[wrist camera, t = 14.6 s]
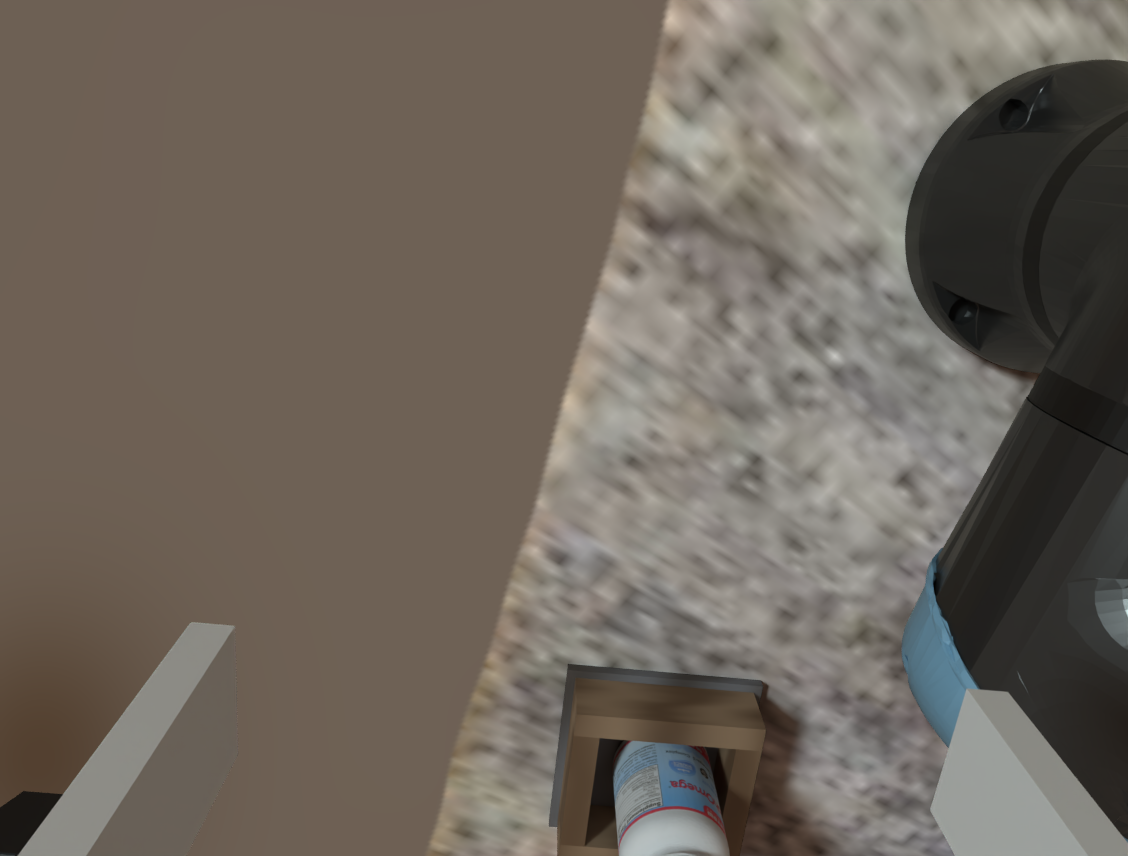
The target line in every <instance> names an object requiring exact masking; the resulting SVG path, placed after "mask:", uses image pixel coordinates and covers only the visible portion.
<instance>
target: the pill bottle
mask: <svg viewBox="0 0 1128 856" xmlns="http://www.w3.org/2000/svg"><path fill="white" fill-rule="evenodd" d="M613 784H614V798H615V811H616V825H617V838H618V852H619V856H730V853H729V847H728V842H727V837H726V833H725V828H724V824H723V819H722V815H721V810H720V806H719V801H718V797H717V792H716V788H715V783H714V779H713V774H712V770H711V765H710V761H709V757H708V754H707V751H706V749H705V747H703V746H690V745H678V744H666V743H654V742H642V741H629V740H624V741H623V742H622V743H621V745H620V746H619V747H618V749H617V751H616V753H615V755H614V759H613Z"/></svg>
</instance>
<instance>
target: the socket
mask: <svg viewBox="0 0 1128 856" xmlns="http://www.w3.org/2000/svg"><path fill="white" fill-rule="evenodd" d="M762 689H763V685H762V682H761V681H759V680H748V679H736V678H724V677H712V676H701V675H689V674H677V673H665V672H653V671H642V670H630V669H618V668H606V667H595V666H583V665H571V664H568V669H567V678H566V686H565V694H564V702H563V710H562V718H561V727H560V735H559V743H558V751H557V759H556V768H555V776H554V784H553V792H552V800H551V808H550V817H549V827H557V856H619V852H618V838H617V825H616V811H615V798H614V784H613V759H614V755H615V753H616V751H617V749H618V747H619V746H620V745H621V743H622V742H623V741H624V740H629V741H642V742H654V743H666V744H678V745H690V746H703V747H705V749H706V751H707V754H708V757H709V761H710V765H711V770H712V774H713V779H714V783H715V788H716V792H717V797H718V801H719V806H720V810H721V815H722V819H723V824H724V828H725V833H726V837H727V842H728V847H729V853H730V856H739V855H740V850H741V846H742V841H743V837H744V832H745V827H746V823H747V818H748V813H749V809H750V804H751V799H752V795H753V790H754V785H755V781H756V776H757V771H758V767H759V762H760V757H761V753H762V748H763V744H764V739H765V734H766V727H765V724H764V722H763V719H762V716H761V713H760V710H759V703H760V699H761V694H762Z"/></svg>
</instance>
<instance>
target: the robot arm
mask: <svg viewBox="0 0 1128 856" xmlns="http://www.w3.org/2000/svg"><path fill="white" fill-rule="evenodd" d="M905 247H906V259H907V265H908V270H909V274H910V278H911V282H912V284H913V287H914V290H915V292H916V295H917V297H918V299H919V301H920V303H921V305H922V306H923V308H924V310H925V311H926V313H927V314H928V316H929V317H930V318H931V319H932V321H933V322H934V323H935V324H936V325H937V326H938V328H939V329H940V330H941V331H942V332H943V333H945V334H946V335H947V336H948V337H949V338H951V339H952V340H953V341H955V342H956V343H957V344H959V345H961V346H962V347H964V348H966V349H967V350H969V351H971V352H973V353H975V354H977V355H979V356H980V357H982V358H984V359H986V360H988V361H991V362H993V363H996V364H998V365H1001V366H1004V367H1007V368H1011V369H1016V370H1020V371H1025V372H1033V373H1040V375H1039V377H1038V379H1037V381H1036V383H1035V384H1034V386H1033V388H1032V390H1031V392H1030V394H1029V395H1028V397H1026V399H1025V401H1024V403H1023V404H1022V406H1021V408H1020V410H1019V412H1018V414H1017V415H1016V417H1015V419H1014V421H1013V423H1012V425H1011V427H1010V428H1009V430H1008V432H1007V434H1006V436H1005V438H1004V439H1003V441H1002V443H1001V445H1000V447H999V449H998V451H997V452H996V454H995V456H994V458H993V460H992V462H991V463H990V465H989V467H988V469H987V471H986V473H985V475H984V476H983V478H982V480H981V482H980V484H979V486H978V487H977V489H976V491H975V493H974V494H973V496H972V498H971V500H970V502H969V503H968V505H967V507H966V509H965V510H964V512H963V514H962V516H961V517H960V519H959V521H958V523H957V524H956V526H955V528H954V530H953V531H952V533H951V535H950V537H949V538H948V540H947V542H946V544H945V546H944V547H943V548H941V549H940V550H939V552H938V553H937V554H936V555H935V557H934V558H933V559H932V561H931V562H930V564H929V567H928V570H927V575H926V584H925V586H924V589H923V591H922V593H921V595H920V597H919V599H918V601H917V603H916V605H915V607H914V609H913V611H912V614H911V616H910V618H909V620H908V622H907V624H906V627H905V630H904V634H903V638H902V659H903V663H904V667H905V670H906V672H907V674H908V683H909V686H910V689H911V691H912V694H913V696H914V697H915V699H916V701H917V703H918V705H919V707H920V709H921V711H922V712H923V714H924V716H925V717H926V719H927V720H928V722H929V723H930V725H931V726H932V727H933V729H934V730H935V732H936V733H937V734H938V736H939V737H940V738H941V739H942V741H943V742H944V743H945V744H946V746H947V747H948V748H949V749H948V752H947V756H946V759H945V762H944V766H943V769H942V772H941V776H940V779H939V782H938V786H937V789H936V792H935V796H934V799H933V802H932V806H931V809H930V810H931V812H932V814H933V816H934V818H935V820H936V821H937V823H938V825H939V827H940V829H941V831H942V832H943V834H944V836H945V838H946V840H947V842H948V843H949V845H950V847H951V849H952V851H953V853H954V854H955V856H1128V62H1126V61H1119V60H1088V61H1079V62H1071V63H1062V64H1056V65H1051V66H1047V67H1042V68H1039V69H1036V70H1032V71H1029V72H1027V73H1024V74H1022V75H1019V76H1017V77H1015V78H1013V79H1011V80H1009V81H1006V82H1005V83H1003V84H1001V85H999V86H998V87H996V88H994V89H993V90H991V91H990V92H988V93H987V94H985V95H984V96H982V97H981V98H980V99H978V100H977V101H976V102H975V103H973V104H972V105H971V106H970V107H969V108H968V109H967V110H965V111H964V112H963V113H962V114H961V115H960V116H959V117H958V118H957V119H956V120H955V121H954V123H953V124H952V125H951V126H950V127H949V128H948V129H947V131H946V132H945V133H944V134H943V136H942V137H941V138H940V140H939V141H938V143H937V144H936V146H935V147H934V149H933V150H932V152H931V153H930V155H929V157H928V159H927V160H926V162H925V164H924V166H923V168H922V170H921V172H920V175H919V177H918V180H917V182H916V185H915V188H914V191H913V194H912V197H911V201H910V205H909V210H908V215H907V222H906V234H905ZM235 644H236V643H235V626H230V625H218V624H207V623H194V622H191V623H190V624H189V625H188V627H187V628H186V629H185V631H184V632H183V634H182V635H181V636H180V638H179V639H178V640H177V642H176V643H175V644H174V646H173V647H172V648H171V650H170V651H169V652H168V654H167V655H166V656H165V658H164V659H163V660H162V662H161V663H160V664H159V666H158V667H157V669H156V670H155V671H154V673H153V674H152V675H151V677H150V678H149V679H148V681H147V682H146V684H145V685H144V686H143V687H142V689H141V690H140V691H139V693H138V694H137V696H136V697H135V698H134V700H133V701H132V702H131V704H130V705H129V706H128V708H127V709H126V710H125V712H124V713H123V714H122V716H121V717H120V718H119V720H118V721H117V723H116V724H115V725H114V727H113V728H112V729H111V731H110V732H109V733H108V735H107V736H106V737H105V739H104V740H103V741H102V743H101V744H100V746H99V747H98V748H97V749H96V751H95V752H94V754H93V755H92V756H91V758H90V759H89V760H88V762H87V763H86V764H85V766H84V767H83V768H82V770H81V771H80V772H79V774H78V775H77V776H76V778H75V779H74V781H73V782H72V783H71V785H70V786H69V787H68V789H67V790H66V791H65V793H64V794H51V793H39V792H26V791H23V792H22V793H21V794H19V795H17V796H16V797H15V798H13V799H12V800H10V801H9V802H7V803H6V804H5V805H3V806H2V807H0V856H187V854H188V852H189V850H190V848H191V846H192V844H193V842H194V840H195V838H196V836H197V834H198V832H199V830H200V828H201V826H202V824H203V822H204V821H205V819H206V817H207V815H208V813H209V811H210V809H211V807H212V805H213V803H214V801H215V799H216V797H217V795H218V793H219V791H220V789H221V787H222V785H223V783H224V781H225V779H226V777H227V775H228V773H229V771H230V769H231V768H232V765H233V764H234V762H235V760H236V758H237V756H238V735H237V734H238V731H237V687H236V646H235Z"/></svg>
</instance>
